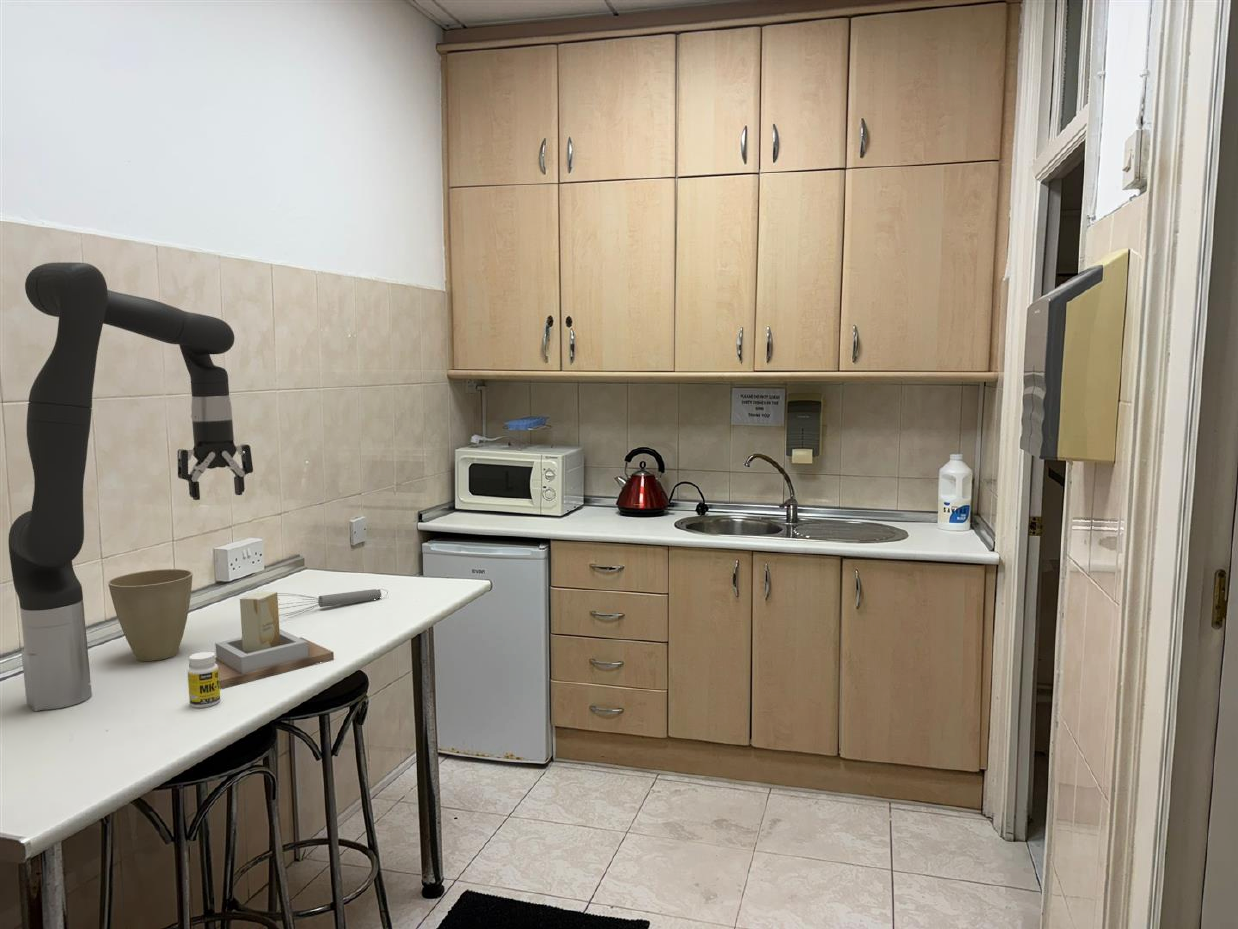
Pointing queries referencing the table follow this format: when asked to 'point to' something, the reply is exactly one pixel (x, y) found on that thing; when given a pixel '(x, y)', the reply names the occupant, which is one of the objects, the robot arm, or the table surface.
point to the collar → (261, 653)
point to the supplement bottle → (203, 680)
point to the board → (234, 677)
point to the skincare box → (259, 621)
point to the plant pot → (153, 610)
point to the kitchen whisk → (338, 599)
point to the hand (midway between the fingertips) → (218, 497)
